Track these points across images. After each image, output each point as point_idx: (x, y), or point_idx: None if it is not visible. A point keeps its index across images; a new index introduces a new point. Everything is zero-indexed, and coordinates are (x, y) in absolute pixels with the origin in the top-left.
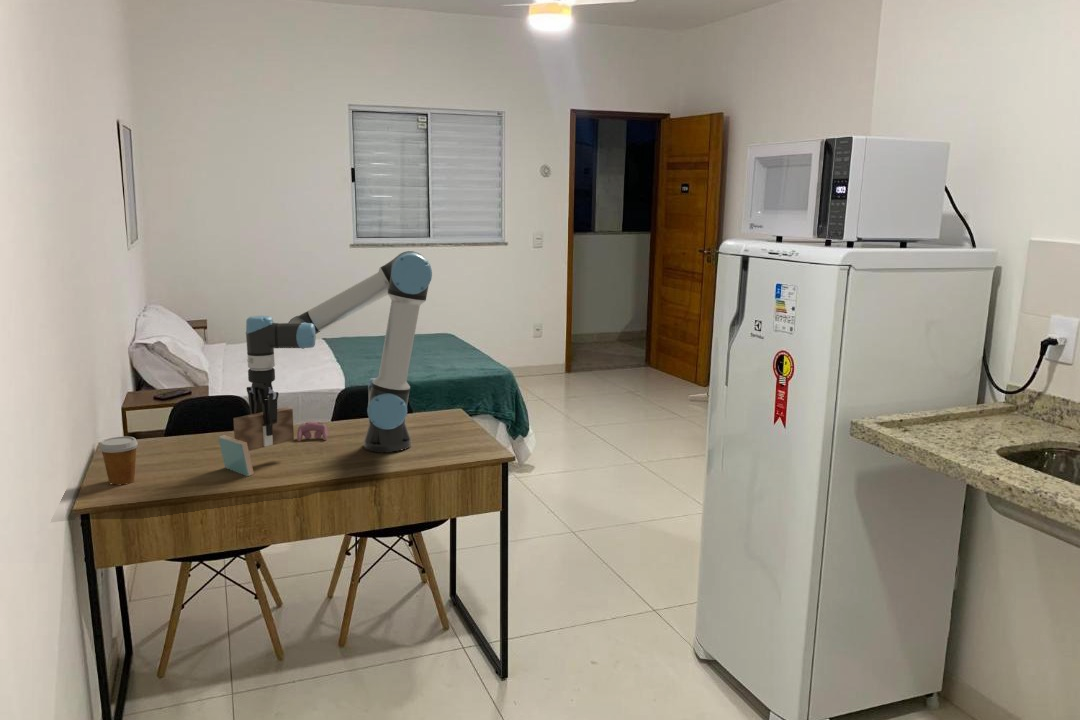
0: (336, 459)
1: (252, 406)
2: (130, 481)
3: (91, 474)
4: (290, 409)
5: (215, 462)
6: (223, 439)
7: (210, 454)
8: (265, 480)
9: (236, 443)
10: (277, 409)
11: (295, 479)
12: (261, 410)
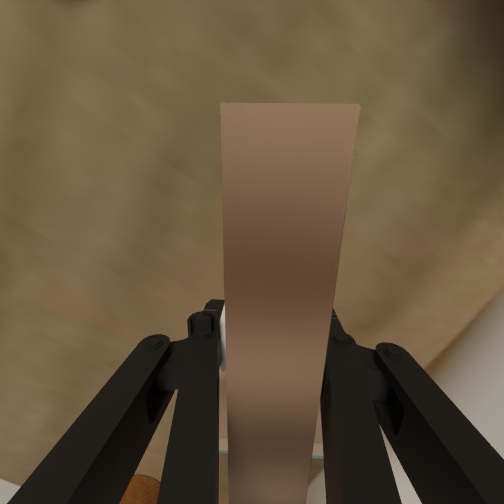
0: (454, 27)
1: (125, 478)
2: None
3: None
4: (353, 142)
5: (143, 332)
6: (222, 451)
7: (56, 302)
8: (393, 336)
9: (319, 458)
10: (245, 261)
11: (468, 284)
12: (217, 414)
